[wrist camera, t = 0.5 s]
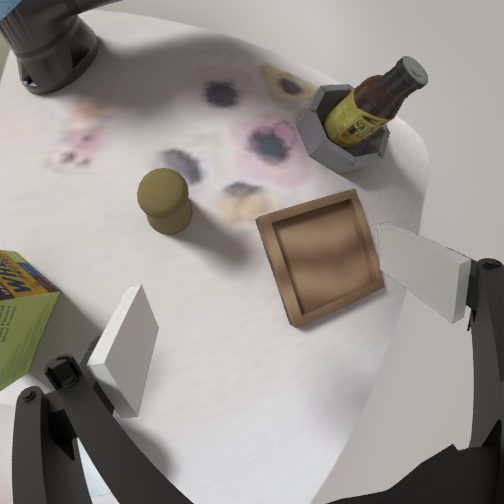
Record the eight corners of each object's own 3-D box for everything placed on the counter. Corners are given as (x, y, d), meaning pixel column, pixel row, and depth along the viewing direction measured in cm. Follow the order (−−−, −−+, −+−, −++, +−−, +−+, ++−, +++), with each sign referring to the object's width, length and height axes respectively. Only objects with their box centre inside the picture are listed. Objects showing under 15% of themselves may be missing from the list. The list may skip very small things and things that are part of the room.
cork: (192, 189, 38) (194, 159, 27) (191, 234, 37) (191, 221, 27) (147, 189, 37) (133, 159, 26) (145, 234, 36) (128, 221, 25)
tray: (255, 219, 39) (259, 216, 37) (346, 192, 42) (354, 188, 40) (289, 324, 39) (296, 327, 37) (375, 285, 43) (384, 286, 40)
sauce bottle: (326, 154, 42) (407, 91, 23) (313, 118, 42) (381, 44, 23) (359, 149, 44) (442, 94, 24) (346, 116, 44) (418, 51, 24)
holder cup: (287, 104, 41) (298, 87, 36) (352, 97, 44) (366, 84, 39) (318, 179, 42) (333, 169, 37) (381, 164, 44) (399, 155, 39)
